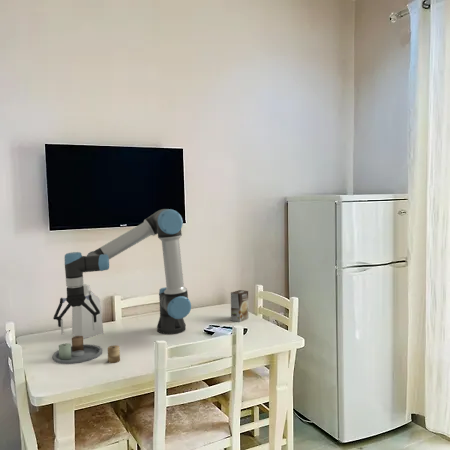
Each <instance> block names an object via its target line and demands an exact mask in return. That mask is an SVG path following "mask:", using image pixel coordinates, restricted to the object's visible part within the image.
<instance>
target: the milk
mask: <svg viewBox="0 0 450 450" xmlns="http://www.w3.org/2000/svg"><path fill="white" fill-rule="evenodd" d="M83 286H84V295H85V296H88V295H89V294H91V296H92V300H93V301H94V303H95V304H96V306H97V307H98V309H99V311H100V314H97V315H96V322H94V330H93V326H92V315H93V314H91V313H90V312H89V311H88V310H87V309H86V308H85V307H84V306H82V305H81V306H75V307H72V306H71V307H72V308H71V315H72V316H71V334H72V335H73V336H83V340H84V339H88V338H91V337H92V338H93V337H96V336H99V335H103V334H104V325H103V315H102V304H101V303H102V302H101V299H100V297H99V296H98V295H96V294H95V293H94V292H92V290H91V286H90V285H89V284H86V283H83ZM84 302H85V303H86V304H87V305H88V306H89V307H90V308H91V309H92V310H93V311H95V312H96V310H95V309H94V307H93V306H92V304H91V303H90V301H89V300H87V299H85V300H84Z"/></svg>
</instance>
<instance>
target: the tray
mask: <svg viewBox="0 0 450 450" xmlns="http://www.w3.org/2000/svg"><path fill="white" fill-rule="evenodd" d="M83 346H84V350H78V351H74V352H73V351H72V345H71V359H70V360H61V359H59V349H58V350H57V351H55V352H53V354H52V356H51V357H52V361H54V363H58V364H61V365H72V364H74V365H75V364H82V363H86V362H91V361H93V360H95V359H98V358H99V357H100V356H101V355H102V354H103V348H102V347H101V346H100V345H96V344H85V343H83Z"/></svg>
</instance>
